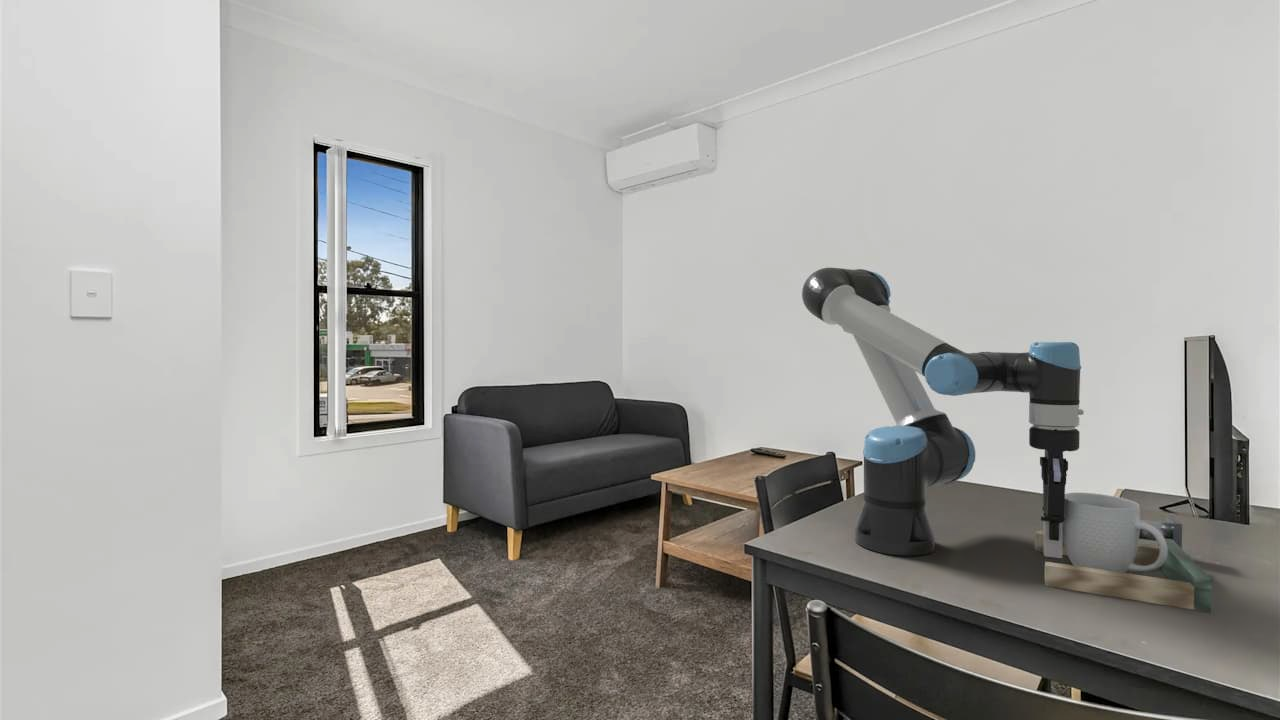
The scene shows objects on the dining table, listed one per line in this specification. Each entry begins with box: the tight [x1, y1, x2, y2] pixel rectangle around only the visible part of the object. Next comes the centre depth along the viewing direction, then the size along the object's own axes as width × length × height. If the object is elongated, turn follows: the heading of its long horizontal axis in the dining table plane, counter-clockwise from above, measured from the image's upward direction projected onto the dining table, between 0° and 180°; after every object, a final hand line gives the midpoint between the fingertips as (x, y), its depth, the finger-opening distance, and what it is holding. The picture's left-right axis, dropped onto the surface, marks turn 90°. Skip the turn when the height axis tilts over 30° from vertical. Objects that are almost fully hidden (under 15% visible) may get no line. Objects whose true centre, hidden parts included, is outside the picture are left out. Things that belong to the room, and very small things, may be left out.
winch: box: [1139, 515, 1183, 550], centre depth 115 cm, size 8×6×8 cm
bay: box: [1034, 529, 1213, 613], centre depth 106 cm, size 21×21×5 cm
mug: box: [1063, 492, 1168, 573], centre depth 106 cm, size 15×11×13 cm
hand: (1052, 555), depth 110 cm, fingers closed
